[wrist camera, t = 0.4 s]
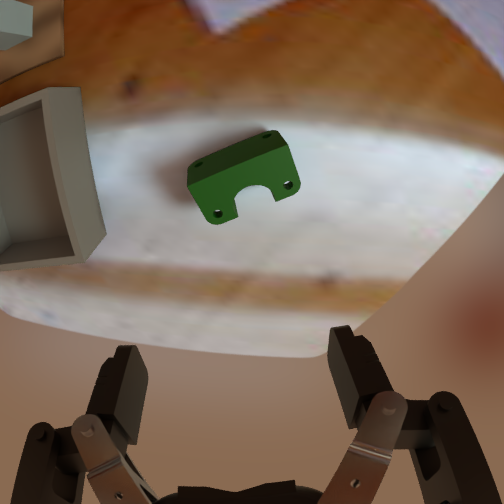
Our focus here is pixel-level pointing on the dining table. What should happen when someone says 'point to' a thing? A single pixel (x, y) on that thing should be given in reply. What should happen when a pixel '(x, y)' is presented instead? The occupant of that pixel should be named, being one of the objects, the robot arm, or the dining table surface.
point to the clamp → (242, 174)
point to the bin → (46, 182)
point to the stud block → (36, 40)
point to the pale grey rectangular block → (14, 23)
